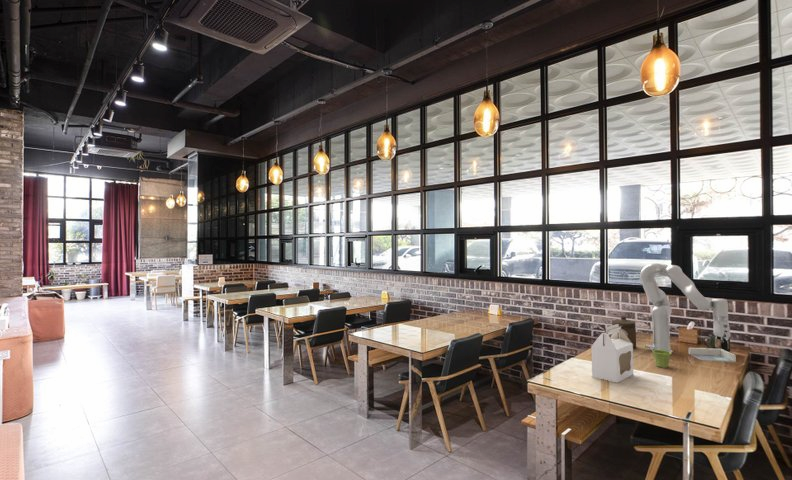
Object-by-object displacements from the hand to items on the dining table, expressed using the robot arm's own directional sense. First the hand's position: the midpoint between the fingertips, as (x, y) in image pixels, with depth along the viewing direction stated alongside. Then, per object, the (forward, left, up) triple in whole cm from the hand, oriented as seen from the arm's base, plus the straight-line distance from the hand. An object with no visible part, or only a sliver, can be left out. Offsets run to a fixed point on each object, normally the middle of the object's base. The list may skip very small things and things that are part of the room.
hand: (721, 347), depth 252 cm
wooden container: (-47, +27, -9) cm, 55 cm away
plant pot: (-41, -20, -9) cm, 47 cm away
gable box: (-75, -44, -9) cm, 88 cm away
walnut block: (0, 0, 0) cm, 0 cm away
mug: (+7, +19, -9) cm, 22 cm away
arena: (-4, +3, -8) cm, 10 cm away
